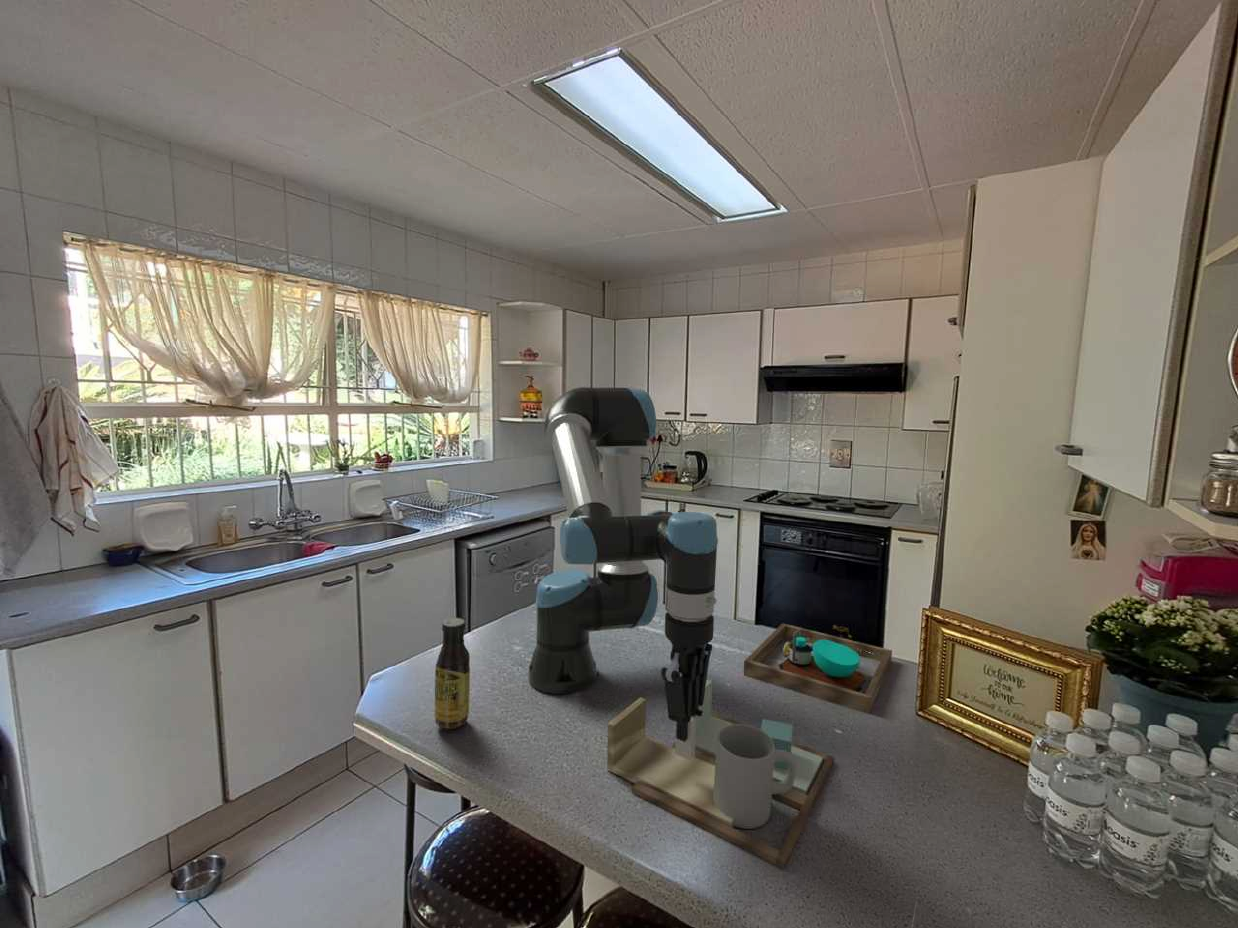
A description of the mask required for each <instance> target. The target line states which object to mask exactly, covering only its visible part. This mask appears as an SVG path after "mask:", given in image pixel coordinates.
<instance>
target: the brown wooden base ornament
mask: <svg viewBox="0 0 1238 928" xmlns="http://www.w3.org/2000/svg"><path fill="white" fill-rule="evenodd" d="M832 629H834V630H837V631H839V633H840V634H838V637H840V638H843V639H845V637H844V636H843V635H842V632H843V633H847V634H848V635H847V636H848V638H852V637H853V636H852V635H851V633H850V631H849V628H848V627H845V626H842V625H837V624H833V625H832ZM798 633H800V634H803V629H799V630H797V631H796V632H794V635H793V639H792V641H791V642H790V641H787V642H785V643H784V646H783V649H782V656H783V657H784V658H787V659H785V660H783V662H781V663H779V664H778V667H779V669H782V670H785V671H789V672H792V673H795V674H799V675H802V676H805V677H809V678H812V679H816V680H819V681H822V682H826V683H829V684H832V685H836V686H839V687H842V688H846V689H849V690H853V691H856V692H859V693H860V692H861V691H862V690H863V687H862V685H864V684H865V683H866V680H867V678H866V677H865V676H864V675H863V672H861V671H858V670H857V669H858V667H859V665H860V662H861V656H859V655H858V654H857V653H856V652H855V651H854V650H852V649H850V648H849V647H847V646H844V645H841V644H838V643H835V642H832V641H829V640H818V641H816V642H815V643H814V644H810V645H809V644H808V643H806V639H805V638H803V637H797V638H796V635H797V634H798ZM812 653H813V655H812Z"/></svg>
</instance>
